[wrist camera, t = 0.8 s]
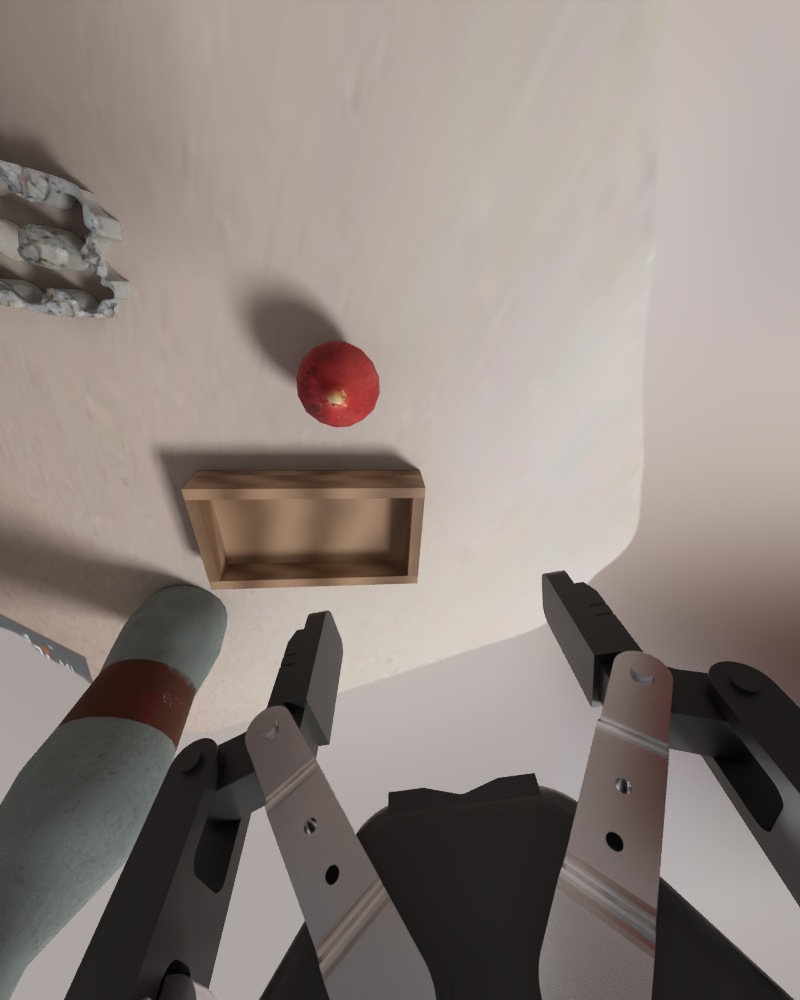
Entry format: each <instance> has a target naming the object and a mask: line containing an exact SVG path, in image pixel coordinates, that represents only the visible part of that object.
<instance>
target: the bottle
mask: <svg viewBox="0 0 800 1000" xmlns="http://www.w3.org/2000/svg"><path fill="white" fill-rule="evenodd" d="M226 626H227V613H226V608H225V606H224V605H223V603H222V602H221V600H220V599H218V598H217V597H216V596H214V595H213V594H212V593H210V592H208V591H205V590H203V589H201V588H197V587H193V586H187V585H175V586H170V587H166V588H164V589H162V590H160V591H158V592H157V593H155V594H154V595H153V596H151V597H150V598H149V599H147V600H146V601H145V602H144V603H143V604H142V605H141V607H140V608H139V609H138V610H137V611H136V612H135V613H134V614H133V615H132V616H131V617H130V619H129V620H128V621H127V622H126V624H125V625H124V626H123V628H122V630H121V632H120V634H119V636H118V638H117V640H116V641H115V643H114V645H113V647H112V649H111V651H110V653H109V655H108V657H107V659H106V661H105V663H104V665H103V667H102V669H101V672H100V674H99V675H98V676H97V678H96V679H95V680H94V682H93V683H92V684H91V685H90V687H89V688H88V689H87V691H86V692H85V693H84V694H83V695H82V697H81V698H80V699H79V701H78V702H77V703H76V704H75V706H74V707H73V708H72V709H71V711H70V712H69V713H68V714H67V716H66V717H65V718H64V719H63V721H62V722H61V723H60V725H59V726H58V727H57V728H56V729H55V731H54V732H53V733H52V734H51V735H50V736H49V738H48V739H47V740H46V741H45V742H44V743H43V745H42V746H41V747H40V748H39V749H38V751H37V752H36V753H35V754H34V755H33V756H32V758H31V759H30V760H29V761H28V762H27V764H26V765H25V766H24V767H23V769H22V770H21V771H20V773H19V774H18V776H17V777H16V779H15V781H14V783H13V784H12V786H11V788H10V789H9V791H8V793H7V794H6V796H5V798H4V800H3V801H2V803H1V805H0V1000H9V999H10V998H11V996H12V994H13V992H14V990H15V988H16V986H17V984H18V982H19V980H20V978H21V976H22V974H23V972H24V970H25V968H26V966H27V965H28V964H29V963H30V962H31V961H32V960H33V959H34V958H35V957H36V956H37V955H38V954H39V952H40V951H41V950H42V949H43V948H44V947H45V946H46V945H47V944H48V943H49V942H50V941H51V940H52V939H53V938H54V937H55V936H56V935H57V934H58V933H59V931H60V930H61V929H62V928H63V927H64V926H65V925H66V924H67V923H68V922H69V921H70V920H71V919H72V918H73V917H74V916H75V915H76V914H77V912H78V911H79V910H80V909H81V908H82V907H83V906H84V905H85V904H86V903H87V902H88V900H90V899H91V898H92V897H93V895H94V894H95V893H96V892H97V891H98V890H99V889H100V888H101V887H102V886H103V885H104V884H105V883H106V882H107V881H108V880H109V879H110V878H111V877H112V875H113V874H114V873H115V872H116V871H117V870H118V869H119V868H120V867H121V866H122V865H123V864H124V863H125V862H126V860H127V858H128V857H129V855H130V853H131V851H132V849H133V847H134V845H135V842H136V840H137V838H138V836H139V833H140V831H141V829H142V827H143V825H144V822H145V820H146V818H147V816H148V814H149V811H150V809H151V807H152V805H153V803H154V800H155V798H156V796H157V794H158V792H159V789H160V787H161V785H162V783H163V781H164V778H165V776H166V774H167V772H168V770H169V767H170V766H171V764H172V762H173V758H174V755H175V752H176V749H177V746H178V743H179V740H180V738H181V734H182V732H183V729H184V726H185V723H186V720H187V717H188V714H189V711H190V708H191V705H192V702H193V699H194V697H195V695H196V693H197V692H198V690H199V688H200V687H201V685H202V683H203V682H204V680H205V678H206V677H207V675H208V673H209V671H210V669H211V668H212V666H213V664H214V662H215V660H216V659H217V657H218V655H219V653H220V649H221V646H222V642H223V638H224V634H225V630H226Z"/></svg>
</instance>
